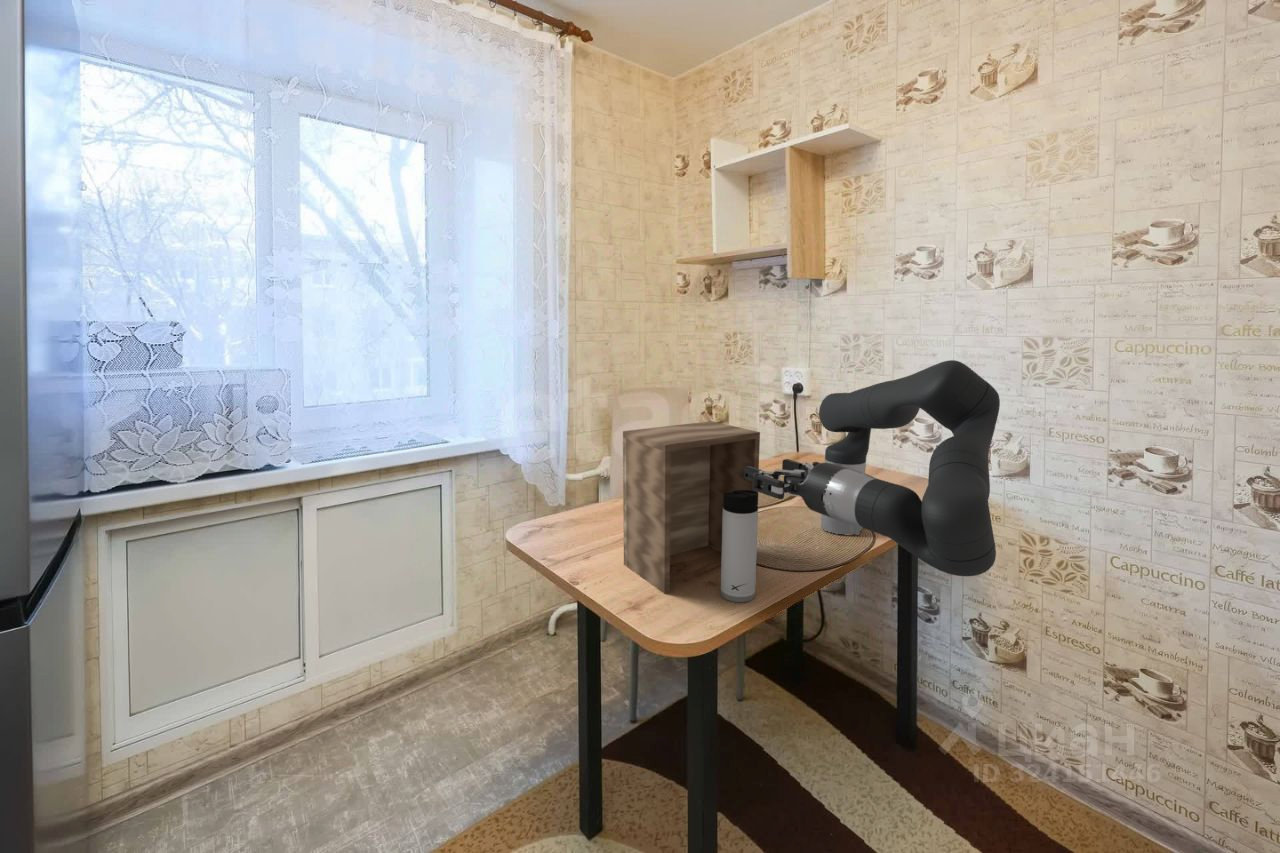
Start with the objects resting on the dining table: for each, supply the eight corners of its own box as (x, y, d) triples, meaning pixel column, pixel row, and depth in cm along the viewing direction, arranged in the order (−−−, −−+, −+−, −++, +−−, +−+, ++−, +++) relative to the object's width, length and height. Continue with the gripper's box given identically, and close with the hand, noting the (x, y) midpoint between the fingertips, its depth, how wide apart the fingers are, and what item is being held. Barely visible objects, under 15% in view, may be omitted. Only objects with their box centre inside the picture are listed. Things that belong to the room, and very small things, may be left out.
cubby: (755, 566, 116) (760, 432, 111) (664, 593, 104) (665, 444, 99) (709, 542, 128) (711, 421, 123) (623, 564, 117) (622, 431, 112)
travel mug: (739, 607, 99) (743, 498, 96) (713, 593, 104) (715, 489, 101) (763, 597, 103) (767, 491, 99) (737, 584, 108) (740, 483, 104)
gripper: (878, 462, 83) (796, 441, 97) (810, 476, 76) (732, 451, 90) (874, 510, 85) (794, 483, 98) (807, 529, 78) (731, 496, 91)
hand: (765, 468), depth 94 cm, fingers open, 8 cm apart
